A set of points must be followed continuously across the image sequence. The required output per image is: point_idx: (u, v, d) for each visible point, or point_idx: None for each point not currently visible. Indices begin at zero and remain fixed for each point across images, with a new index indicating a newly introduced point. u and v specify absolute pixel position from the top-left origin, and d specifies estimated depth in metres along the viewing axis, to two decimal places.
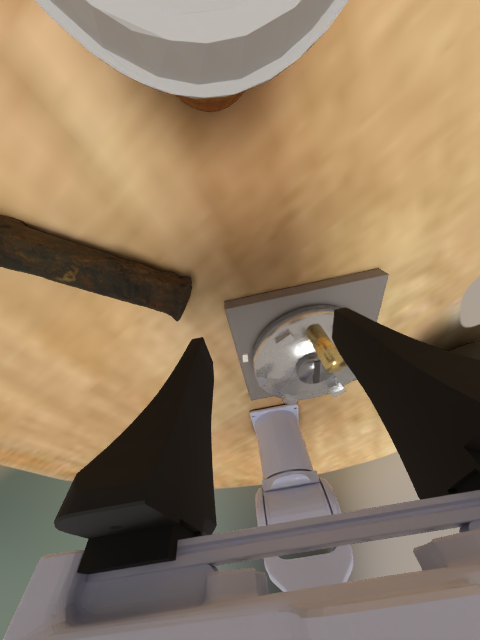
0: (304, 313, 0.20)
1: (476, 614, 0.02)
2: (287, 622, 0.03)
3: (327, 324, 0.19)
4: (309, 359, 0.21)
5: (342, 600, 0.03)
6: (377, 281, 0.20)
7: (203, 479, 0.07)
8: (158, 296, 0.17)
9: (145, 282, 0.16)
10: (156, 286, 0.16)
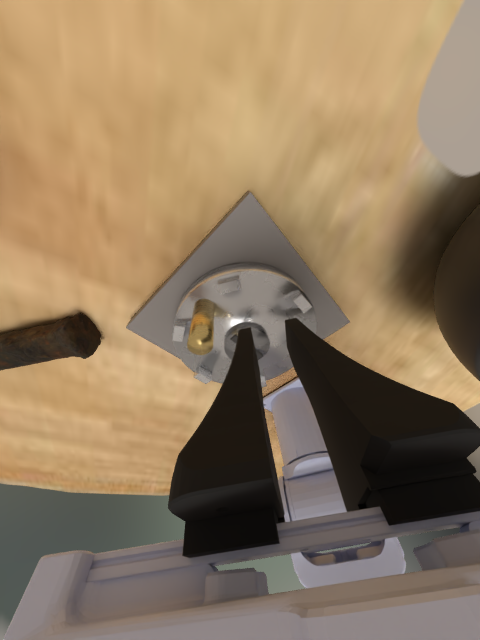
0: (186, 294, 0.17)
1: (476, 614, 0.02)
2: (287, 622, 0.03)
3: (211, 293, 0.16)
4: (226, 338, 0.17)
5: (342, 600, 0.03)
6: (245, 209, 0.15)
7: (274, 466, 0.07)
8: (49, 347, 0.18)
9: (32, 342, 0.18)
10: (41, 341, 0.18)
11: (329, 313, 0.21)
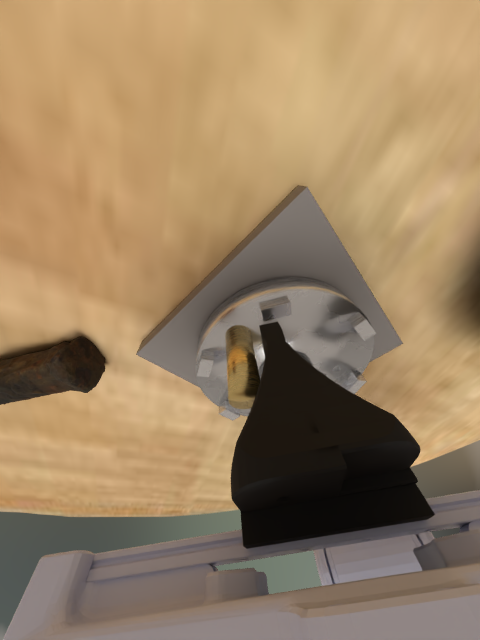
0: (215, 318, 0.13)
1: (476, 614, 0.02)
2: (287, 622, 0.03)
3: (249, 318, 0.12)
4: None
5: (342, 600, 0.03)
6: (297, 209, 0.11)
7: None
8: (42, 382, 0.14)
9: (20, 376, 0.14)
10: (32, 374, 0.14)
11: (380, 334, 0.17)
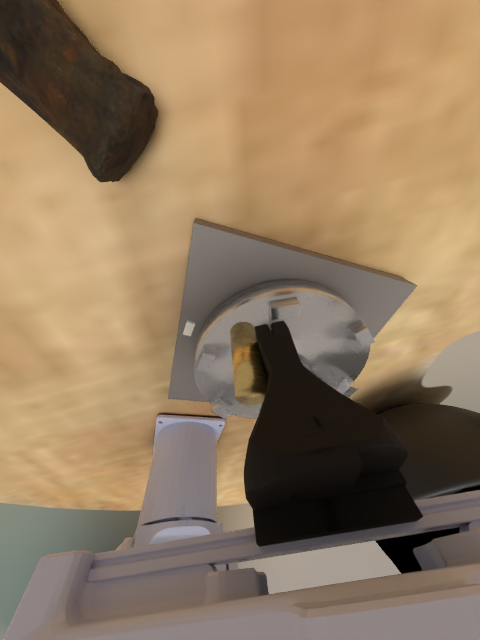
0: (220, 313, 0.13)
1: (476, 614, 0.02)
2: (287, 622, 0.03)
3: (256, 316, 0.12)
4: None
5: (342, 600, 0.03)
6: (401, 289, 0.15)
7: None
8: (57, 65, 0.07)
9: None
10: (59, 32, 0.06)
11: None
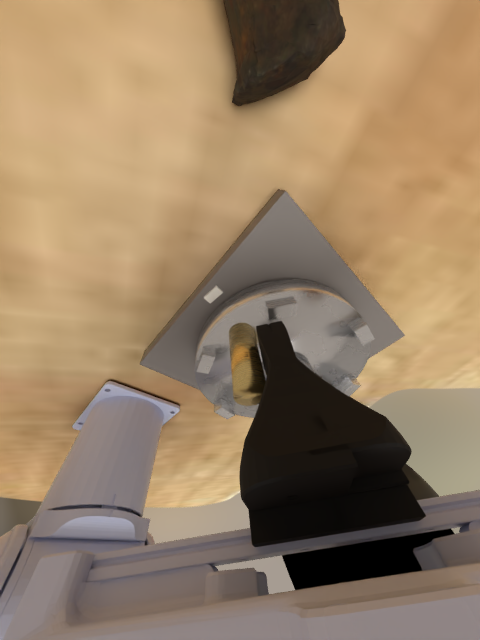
0: (218, 314, 0.13)
1: (476, 614, 0.02)
2: (287, 622, 0.03)
3: (254, 317, 0.12)
4: (263, 371, 0.14)
5: (342, 600, 0.03)
6: (394, 334, 0.17)
7: None
8: None
9: None
10: None
11: None
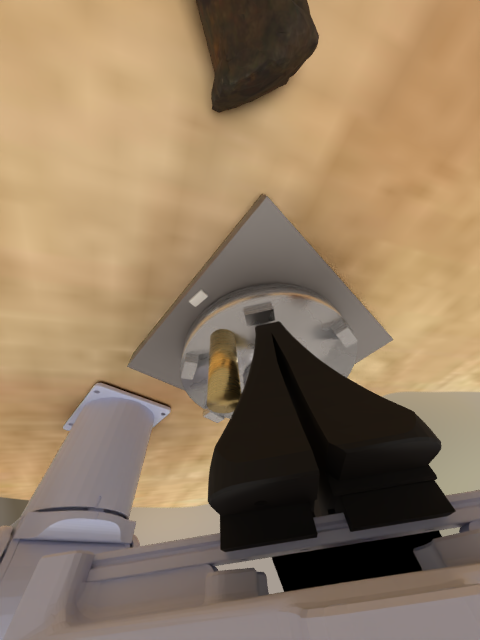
0: (200, 321, 0.13)
1: (476, 614, 0.02)
2: (287, 622, 0.03)
3: (234, 323, 0.12)
4: (247, 375, 0.14)
5: (342, 600, 0.03)
6: (382, 338, 0.17)
7: None
8: None
9: None
10: None
11: None
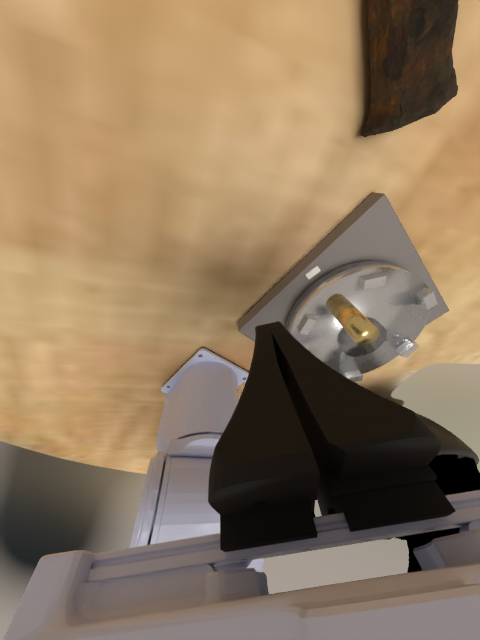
0: (316, 289, 0.17)
1: (476, 614, 0.02)
2: (287, 622, 0.03)
3: (348, 288, 0.16)
4: (347, 332, 0.18)
5: (342, 600, 0.03)
6: (441, 309, 0.22)
7: None
8: (438, 51, 0.10)
9: (457, 6, 0.09)
10: (452, 35, 0.10)
11: None
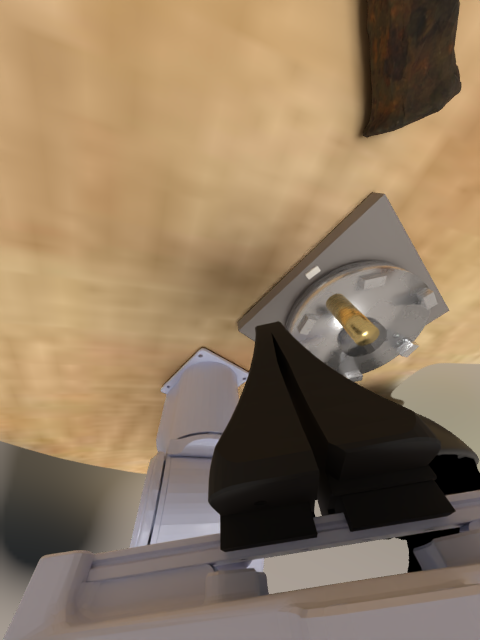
0: (316, 289, 0.17)
1: (476, 614, 0.02)
2: (287, 622, 0.03)
3: (348, 288, 0.16)
4: (347, 332, 0.18)
5: (342, 600, 0.03)
6: (441, 309, 0.22)
7: None
8: (440, 50, 0.10)
9: (458, 3, 0.09)
10: (454, 32, 0.10)
11: None
